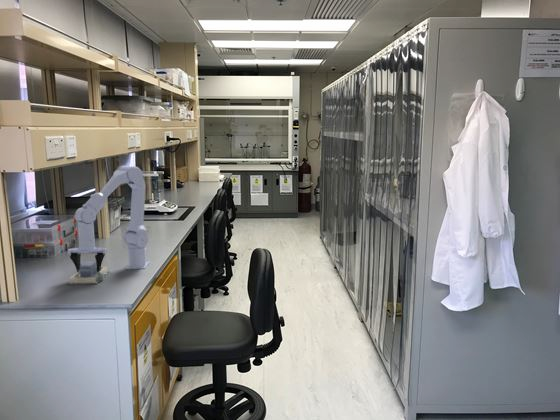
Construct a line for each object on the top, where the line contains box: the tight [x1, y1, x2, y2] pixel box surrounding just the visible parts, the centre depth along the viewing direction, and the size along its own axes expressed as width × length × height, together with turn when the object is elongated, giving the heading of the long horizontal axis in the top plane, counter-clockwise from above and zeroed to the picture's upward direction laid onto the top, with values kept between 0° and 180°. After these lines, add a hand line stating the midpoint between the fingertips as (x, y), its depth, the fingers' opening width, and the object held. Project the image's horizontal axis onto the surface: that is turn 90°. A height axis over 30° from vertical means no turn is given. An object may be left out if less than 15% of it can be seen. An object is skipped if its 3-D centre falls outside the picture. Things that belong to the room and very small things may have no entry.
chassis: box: [67, 266, 110, 286], centre depth 176 cm, size 15×12×3 cm
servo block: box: [79, 260, 97, 277], centre depth 176 cm, size 10×4×6 cm, turn 4°
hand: (88, 271), depth 176 cm, fingers open, 7 cm apart
